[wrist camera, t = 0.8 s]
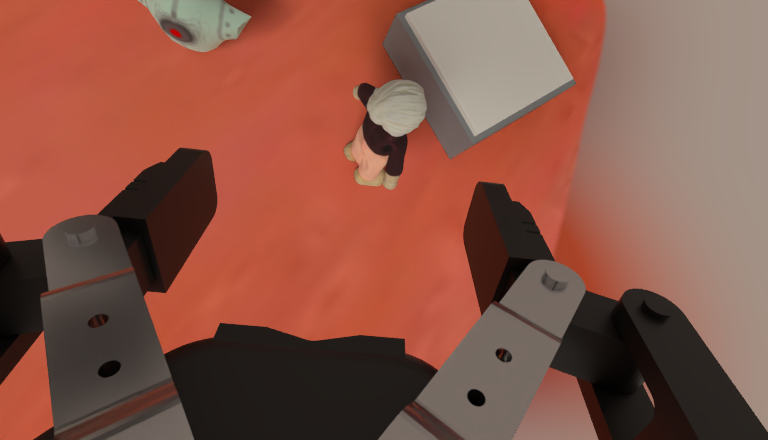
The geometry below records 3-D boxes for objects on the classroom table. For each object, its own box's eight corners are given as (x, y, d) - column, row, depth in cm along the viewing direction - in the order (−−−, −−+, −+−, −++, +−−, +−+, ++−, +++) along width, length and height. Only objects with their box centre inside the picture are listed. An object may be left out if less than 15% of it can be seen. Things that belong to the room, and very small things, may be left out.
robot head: (258, 43, 33) (252, -11, 27) (241, 87, 33) (231, 41, 26) (157, 2, 32) (126, -66, 25) (137, 47, 31) (99, -12, 24)
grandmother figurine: (403, 184, 35) (469, 140, 23) (367, 206, 34) (415, 171, 22) (359, 108, 35) (402, 22, 23) (320, 127, 34) (344, 47, 22)
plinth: (382, 44, 36) (398, 9, 31) (482, -3, 39) (511, -40, 35) (450, 159, 37) (476, 142, 32) (543, 103, 40) (580, 81, 35)
